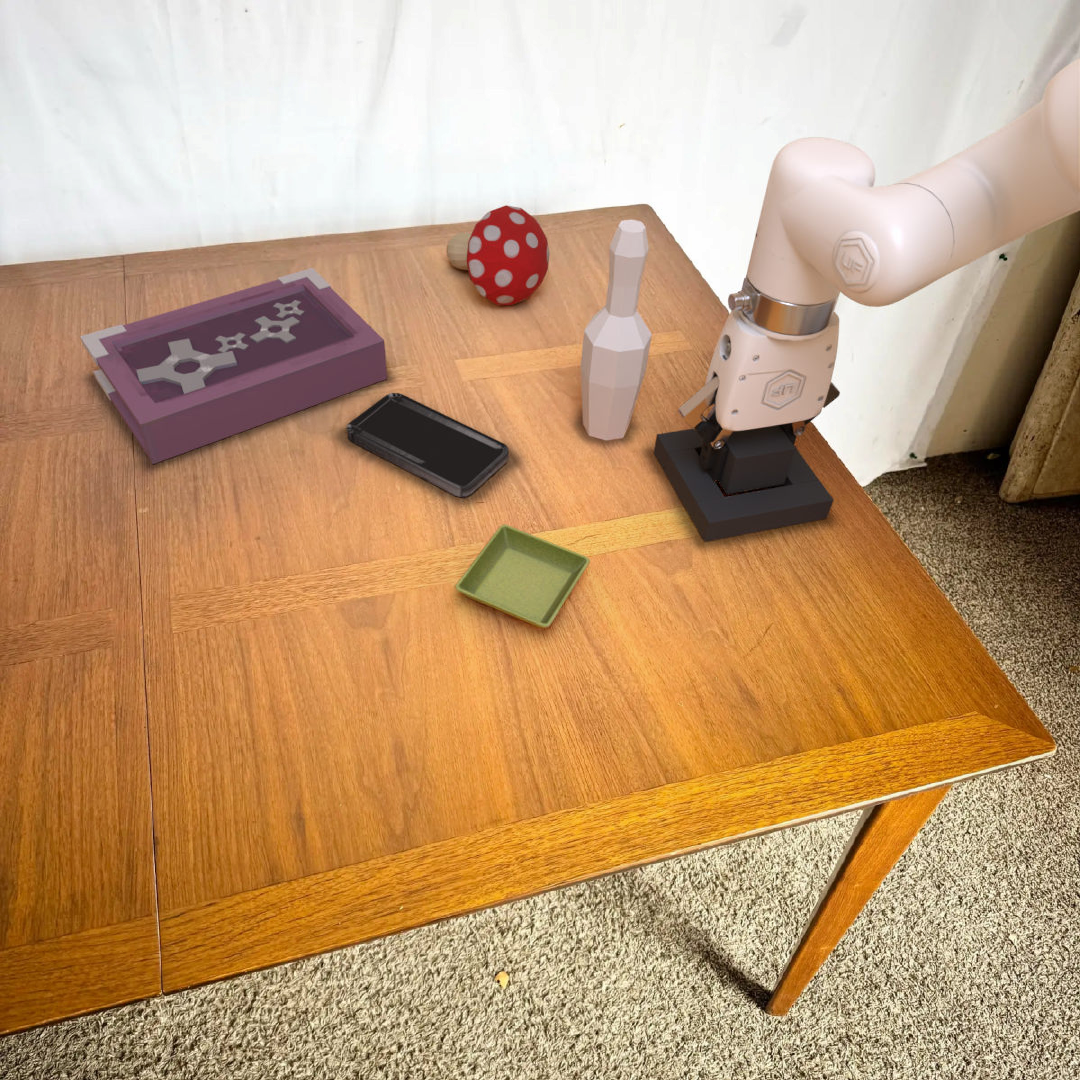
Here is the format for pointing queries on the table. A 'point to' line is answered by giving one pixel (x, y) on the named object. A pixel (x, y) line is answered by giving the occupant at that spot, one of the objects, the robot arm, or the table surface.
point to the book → (234, 362)
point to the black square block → (756, 459)
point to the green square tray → (523, 576)
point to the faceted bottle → (616, 340)
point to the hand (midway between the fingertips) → (743, 464)
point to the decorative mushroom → (503, 255)
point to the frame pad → (739, 512)
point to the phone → (428, 444)
